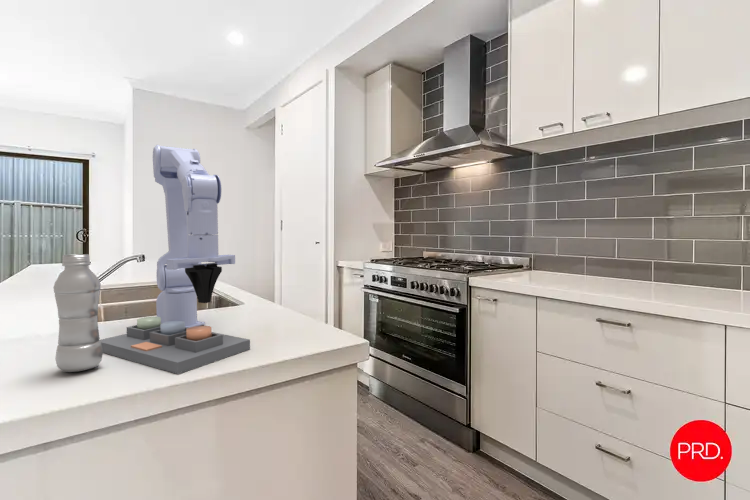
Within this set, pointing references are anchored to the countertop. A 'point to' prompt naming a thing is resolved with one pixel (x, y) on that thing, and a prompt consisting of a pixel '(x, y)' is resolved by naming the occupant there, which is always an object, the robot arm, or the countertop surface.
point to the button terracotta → (198, 333)
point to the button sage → (148, 323)
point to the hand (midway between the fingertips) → (204, 302)
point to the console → (172, 348)
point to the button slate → (172, 327)
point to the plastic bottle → (77, 315)
